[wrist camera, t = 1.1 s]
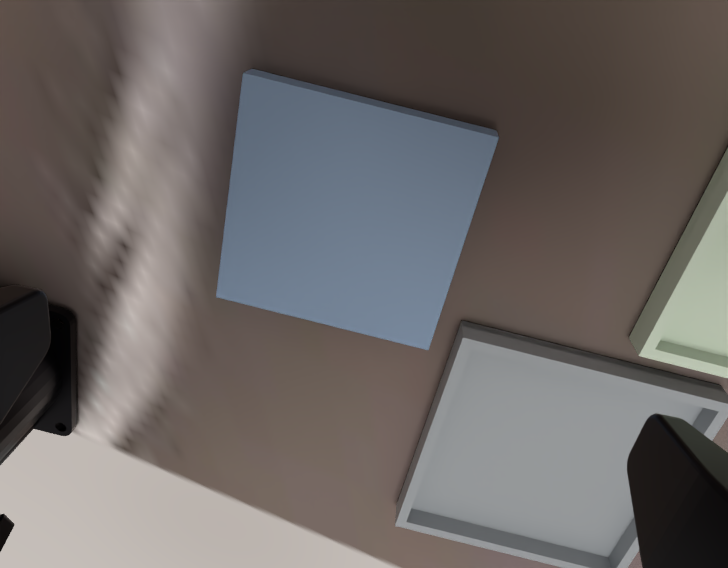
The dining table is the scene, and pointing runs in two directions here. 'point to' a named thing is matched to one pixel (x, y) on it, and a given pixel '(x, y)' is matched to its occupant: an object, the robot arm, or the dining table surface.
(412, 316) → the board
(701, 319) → the green tray
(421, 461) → the grey tray
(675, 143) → the dining table surface
